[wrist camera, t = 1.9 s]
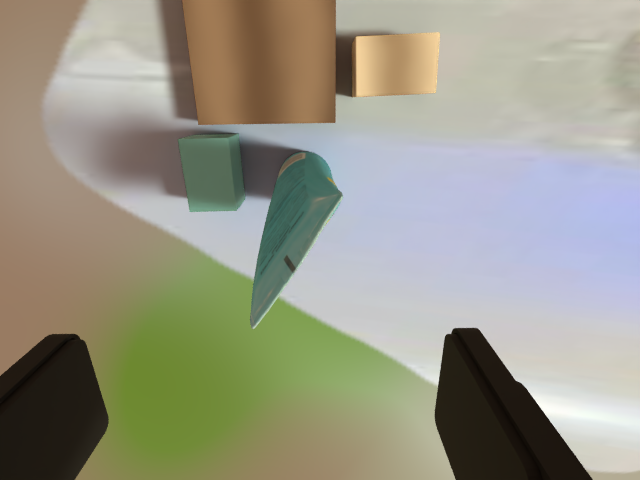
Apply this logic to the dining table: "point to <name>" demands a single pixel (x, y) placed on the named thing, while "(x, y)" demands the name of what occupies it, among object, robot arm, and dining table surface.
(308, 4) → the plinth
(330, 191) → the tube
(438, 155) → the dining table surface
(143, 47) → the dining table surface
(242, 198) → the teal block
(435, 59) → the beech block
